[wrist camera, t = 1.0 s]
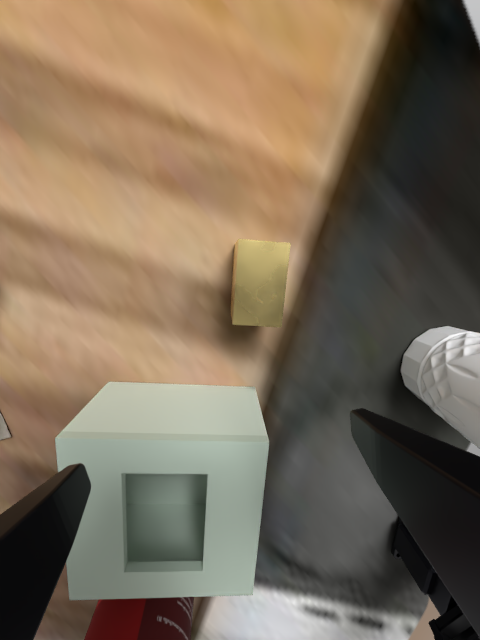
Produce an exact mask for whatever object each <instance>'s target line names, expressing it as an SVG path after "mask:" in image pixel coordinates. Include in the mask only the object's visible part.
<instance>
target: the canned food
mask: <svg viewBox="0 0 480 640" xmlns="http://www.w3.org/2000/svg"><path fill="white" fill-rule="evenodd" d="M193 601H194V597H167V598H131V599H99V601H98V604H97V606H96V609H95V612H94V614H93V617H92V620H91V623H90V625H89V628H88V631H87V633H86V636H85V639H84V640H190V638H191V626H192V613H193Z"/></svg>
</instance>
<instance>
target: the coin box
mask: <svg viewBox="0 0 480 640" xmlns="http://www.w3.org/2000/svg"><path fill="white" fill-rule="evenodd" d="M55 443H56V454H57V465H58V473H59V472H60V471H61V470H63V469H64V468H65V467H67V466H69V465H72V464H78V463H82V464H84V466H85V468H86V471H87V474H88V476H89V479H90V482H91V491H90V495H89V498H88V501H87V504H86V507H85V510H84V513H83V516H82V519H81V522H80V525H79V528H78V532H77V535H76V537H75V540H74V543H73V546H72V548H71V551H70V553H69V556H68V558H67V561H66V566H67V577H68V588H69V599H70V600H95V599H131V598H167V597H204V596H240V595H253V586H254V577H255V568H256V558H257V549H258V540H259V531H260V522H261V513H262V504H263V495H264V485H265V476H266V467H267V458H268V449H269V440H268V436H267V432H266V428H265V424H264V420H263V416H262V412H261V409H260V405H259V401H258V397H257V393H256V389H255V387H244V386H217V385H189V384H162V383H134V382H108V383H107V384H106V385H105V386H104V387H103V388H102V389H101V390H100V391H99V392H98V393H97V394H96V396H95V397H94V398H93V399H92V400H91V401H90V402H89V403H88V404H87V405H86V406H85V407H84V408H83V409H82V410H81V411H80V412H79V413H78V415H77V416H76V417H75V418H74V419H73V420H72V421H71V422H70V423H69V424H68V425H67V426H66V427H65V428H64V429H63V430H62V431H61V432H60V434H59V435H58V436H57V437H56V438H55Z"/></svg>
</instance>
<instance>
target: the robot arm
mask: <svg viewBox="0 0 480 640" xmlns="http://www.w3.org/2000/svg"><path fill="white" fill-rule="evenodd" d="M350 420H351V432H352V436H353V439H354V441H355V442H356V444H357V446H358V448H359V450H360V452H361V454H362V456H363V457H364V459H365V461H366V463H367V465H368V467H369V469H370V471H371V473H372V474H373V476H374V478H375V480H376V482H377V483H378V485H379V486H380V488H381V490H382V491H383V493H384V494H385V496H386V497H387V499H388V500H389V502H390V503H391V505H392V506H393V508H394V509H395V511H396V512H397V514H398V515H399V517H400V519H399V523H398V527H397V531H396V535H395V539H394V543H393V547H392V551H391V553H392V554H393V556H394V558H395V559H402V560H403V561H404V563H405V565H406V566H407V568H408V570H409V571H410V573H411V575H412V576H413V578H414V580H415V581H416V583H417V585H418V586H419V588H420V590H421V591H422V592H423V594H424V595H428V596H429V597H430V599H431V601H432V602H433V604H434V605H435V607H436V608H437V610H438V612H439V613H440V615H441V616H440V617H439V618H437V619H436V620H435V619H433V620H431V621H430V622H429V625H430V627H431V629H432V631H433V634H434V639H435V640H480V457H479V456H477V455H475V454H472V453H470V452H467V451H465V450H462V449H460V448H458V447H455V446H453V445H450V444H448V443H446V442H443V441H441V440H438V439H436V438H433V437H431V436H429V435H426V434H424V433H421V432H419V431H417V430H414V429H412V428H409V427H407V426H404V425H402V424H400V423H397V422H395V421H392V420H390V419H388V418H385V417H383V416H380V415H378V414H375V413H373V412H371V411H368V410H366V409H363V408H361V409H356V410H352V411H351V412H350ZM90 491H91V482H90V479H89V476H88V474H87V471H86V468H85V466H84V464H82V463H78V464H72V465H69V466H67V467H65V468H64V469H63V470H61V471H60V472H59V473H57V474H56V475H54V476H53V477H52V478H50V479H49V480H47V481H46V482H45V483H43V484H42V485H41V486H39V487H38V488H36V489H35V490H34V491H32V492H31V493H30V494H28V495H27V496H25V497H24V498H23V499H21V500H20V501H19V502H17V503H16V504H14V505H13V506H12V507H10V508H9V509H7V510H6V511H5V512H3V513H2V514H1V515H0V640H33V639H34V637H35V635H36V632H37V630H38V627H39V625H40V623H41V620H42V618H43V615H44V613H45V611H46V608H47V606H48V604H49V601H50V599H51V596H52V594H53V592H54V589H55V587H56V584H57V582H58V580H59V577H60V575H61V573H62V570H63V568H64V565H65V563H66V561H67V558H68V556H69V553H70V551H71V548H72V546H73V543H74V540H75V537H76V535H77V532H78V528H79V525H80V522H81V519H82V516H83V513H84V510H85V507H86V504H87V501H88V498H89V495H90Z"/></svg>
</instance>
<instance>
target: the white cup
mask: <svg viewBox="0 0 480 640" xmlns="http://www.w3.org/2000/svg"><path fill="white" fill-rule="evenodd" d="M401 374H402V378H403V381H404V385H405V386H406V387H407V388H408V389H409V390H410V391H411V392H412V393H413V394H414V395H415V396H416V397H418V398H419V399H420V400H422V401H423V402H424V403H426V404H427V405H428V406H429V407H430V408H431V410H432V411H434V412H435V413H436V414H437V415H439V416H440V417H441V418H443V419H444V420H445V421H446V422H447V423H448V424H450V425H451V426H452V427H453V428H455V429H456V430H457V431H459V432H460V433H461V434H462V435H463V436H464V437H465V438H467V439H468V440H469V441H470V442H472V443H473V444H475V445H476V446H477V447H478V448H480V333H476V332H471V331H466V330H462V329H458V328H454V327H449V326H444V327H439V328H434V329H429V330H428V331H426V332H424V333H423V334H421V335H420V336H419V337H417V338H416V339H414V340H413V342H412V343H411V344H410V346H409V347H408V349H407V350H406V352H405V353H404V355H403V360H402V366H401Z"/></svg>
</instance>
